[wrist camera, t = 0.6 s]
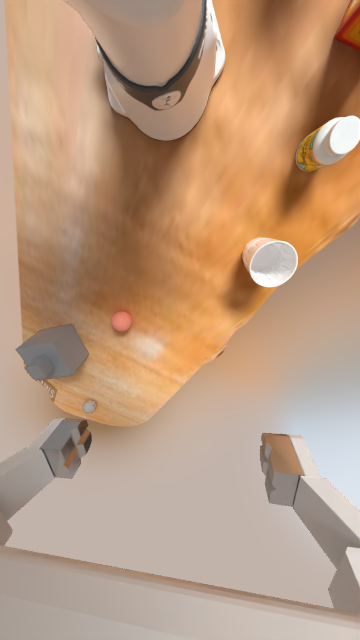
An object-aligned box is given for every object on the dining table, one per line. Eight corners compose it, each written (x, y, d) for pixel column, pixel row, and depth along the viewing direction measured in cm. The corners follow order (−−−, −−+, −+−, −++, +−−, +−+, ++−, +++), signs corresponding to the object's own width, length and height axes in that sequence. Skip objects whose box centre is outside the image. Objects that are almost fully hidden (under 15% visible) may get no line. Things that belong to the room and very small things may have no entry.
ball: (112, 310, 53) (104, 319, 49) (130, 306, 52) (124, 315, 48) (119, 326, 55) (112, 337, 51) (136, 323, 55) (131, 333, 50)
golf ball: (84, 402, 71) (78, 412, 67) (89, 395, 69) (83, 405, 66) (94, 407, 72) (89, 417, 68) (100, 401, 70) (94, 411, 66)
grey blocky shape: (39, 330, 58) (3, 358, 47) (72, 323, 56) (42, 351, 45) (58, 359, 62) (29, 390, 51) (88, 353, 61) (65, 385, 50)
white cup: (242, 276, 47) (253, 292, 38) (235, 241, 44) (246, 249, 35) (279, 266, 45) (299, 280, 37) (275, 228, 42) (296, 234, 33)
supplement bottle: (326, 167, 37) (364, 155, 28) (293, 175, 38) (322, 166, 29) (329, 128, 34) (373, 102, 26) (295, 137, 35) (326, 115, 27)
